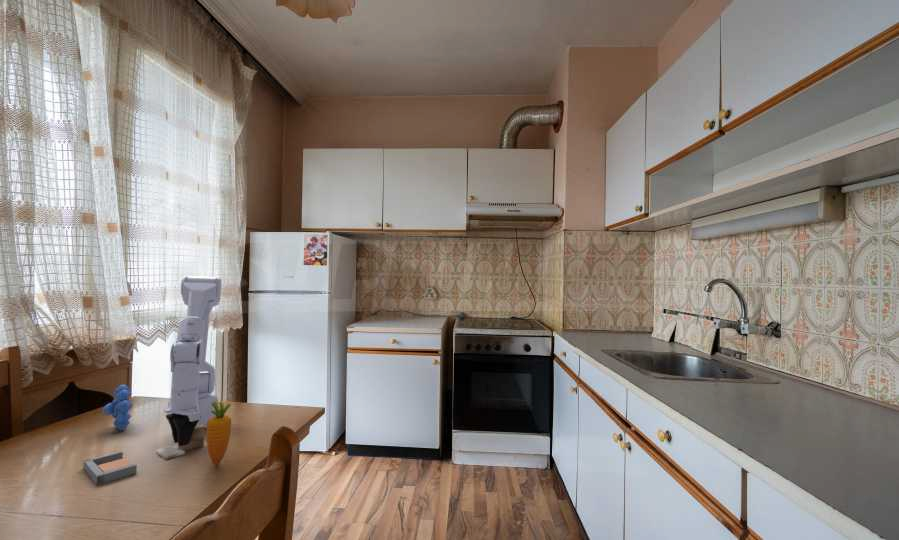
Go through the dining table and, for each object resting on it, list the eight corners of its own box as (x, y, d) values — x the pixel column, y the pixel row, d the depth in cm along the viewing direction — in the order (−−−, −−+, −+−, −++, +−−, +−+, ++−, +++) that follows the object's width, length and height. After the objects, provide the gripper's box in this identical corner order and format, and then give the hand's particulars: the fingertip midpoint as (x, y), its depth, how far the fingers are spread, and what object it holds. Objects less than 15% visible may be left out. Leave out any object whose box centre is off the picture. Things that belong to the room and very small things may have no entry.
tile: (125, 464, 90) (125, 457, 90) (132, 470, 87) (132, 463, 87) (97, 472, 86) (97, 465, 86) (103, 479, 83) (104, 472, 83)
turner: (196, 441, 102) (198, 422, 103) (206, 447, 99) (207, 428, 99) (156, 452, 95) (157, 432, 95) (165, 459, 92) (166, 438, 92)
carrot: (233, 463, 91) (237, 399, 92) (214, 472, 87) (218, 405, 87) (218, 459, 93) (221, 396, 93) (198, 468, 88) (202, 402, 89)
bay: (121, 458, 92) (121, 450, 92) (136, 473, 85) (136, 464, 85) (83, 468, 86) (83, 460, 86) (96, 485, 80) (97, 476, 80)
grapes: (98, 425, 111) (101, 383, 111) (128, 420, 116) (131, 380, 116) (102, 438, 103) (105, 392, 103) (134, 431, 108) (137, 388, 108)
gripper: (155, 386, 99) (152, 440, 98) (177, 397, 90) (174, 456, 89) (187, 381, 104) (183, 432, 104) (210, 391, 96) (207, 447, 95)
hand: (181, 443), depth 97 cm, fingers closed on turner, 2 cm apart
